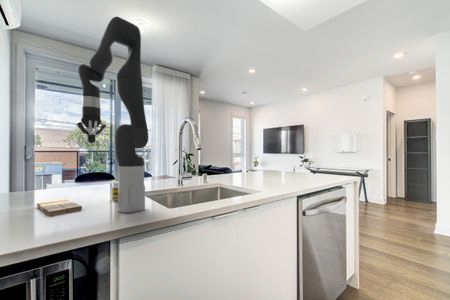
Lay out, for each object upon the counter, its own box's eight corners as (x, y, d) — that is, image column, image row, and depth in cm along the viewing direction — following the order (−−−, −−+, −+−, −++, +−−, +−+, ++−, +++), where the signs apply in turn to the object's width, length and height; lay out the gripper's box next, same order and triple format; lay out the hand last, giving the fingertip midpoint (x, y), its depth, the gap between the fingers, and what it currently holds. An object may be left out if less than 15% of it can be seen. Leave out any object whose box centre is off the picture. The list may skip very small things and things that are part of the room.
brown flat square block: (81, 210, 81) (81, 205, 81) (49, 216, 74) (49, 211, 74) (73, 206, 87) (73, 202, 87) (42, 211, 80) (42, 207, 80)
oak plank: (72, 205, 87) (72, 202, 87) (42, 210, 80) (42, 207, 80) (65, 201, 93) (65, 198, 93) (36, 206, 86) (36, 202, 86)
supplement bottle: (112, 201, 96) (112, 182, 96) (112, 199, 100) (112, 181, 100) (123, 199, 98) (123, 182, 98) (123, 197, 102) (123, 180, 102)
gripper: (78, 103, 94) (78, 142, 93) (109, 108, 104) (109, 143, 104) (72, 106, 98) (72, 142, 98) (102, 110, 109) (102, 143, 109)
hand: (91, 142), depth 101 cm, fingers closed
